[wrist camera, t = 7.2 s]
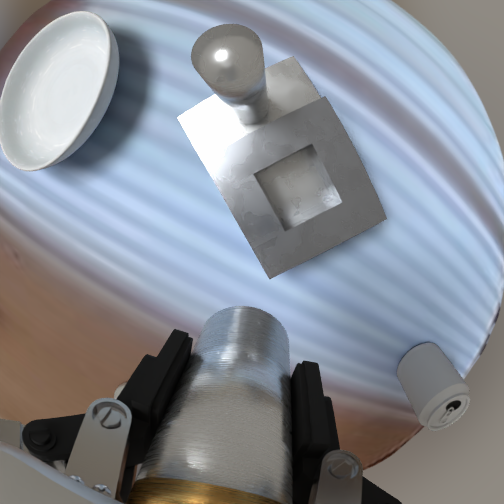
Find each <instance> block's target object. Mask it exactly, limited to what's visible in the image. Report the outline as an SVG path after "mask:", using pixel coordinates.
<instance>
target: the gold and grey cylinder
mask: <svg viewBox="0 0 504 504" xmlns="http://www.w3.org/2000/svg"><path fill="white" fill-rule="evenodd" d="M126 504H292V410H291V379H290V355H289V339H288V335H287V333H286V330H285V329H284V327H283V326H282V324H281V323H280V322H279V321H278V320H277V319H276V318H275V317H273V316H272V315H271V314H269V313H267V312H265V311H263V310H261V309H257V308H254V307H248V306H235V307H229V308H226V309H223V310H221V311H218V312H217V313H215V314H214V315H212V316H211V317H210V318H209V319H208V320H207V322H206V323H205V325H204V327H203V329H202V331H201V333H200V335H199V337H198V340H197V342H196V344H195V346H194V348H193V351H192V353H191V355H190V357H189V360H188V362H187V364H186V366H185V368H184V371H183V373H182V375H181V377H180V380H179V382H178V384H177V386H176V388H175V391H174V393H173V395H172V397H171V400H170V402H169V404H168V406H167V409H166V411H165V413H164V415H163V418H162V420H161V422H160V425H159V427H158V429H157V431H156V434H155V436H154V438H153V441H152V443H151V445H150V447H149V450H148V452H147V454H146V457H145V459H144V461H143V464H142V466H141V468H140V471H139V473H138V475H137V478H136V480H135V482H134V485H133V487H132V489H131V492H130V494H129V496H128V499H127V501H126Z"/></svg>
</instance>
